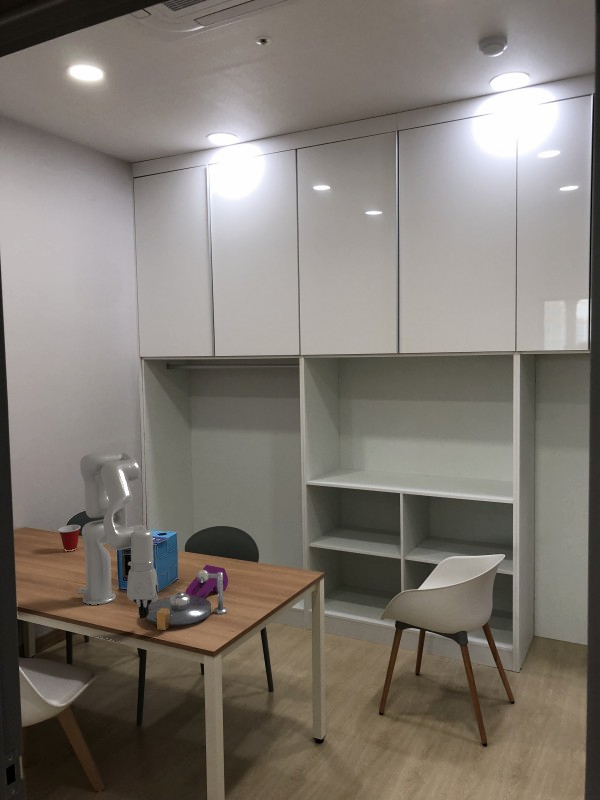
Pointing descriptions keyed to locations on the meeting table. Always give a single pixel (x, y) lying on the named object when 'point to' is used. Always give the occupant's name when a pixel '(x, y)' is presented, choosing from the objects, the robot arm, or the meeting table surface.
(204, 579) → the dial post
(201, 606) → the turntable
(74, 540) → the plastic cup
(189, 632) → the meeting table surface
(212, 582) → the mounting bracket
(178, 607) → the cover
